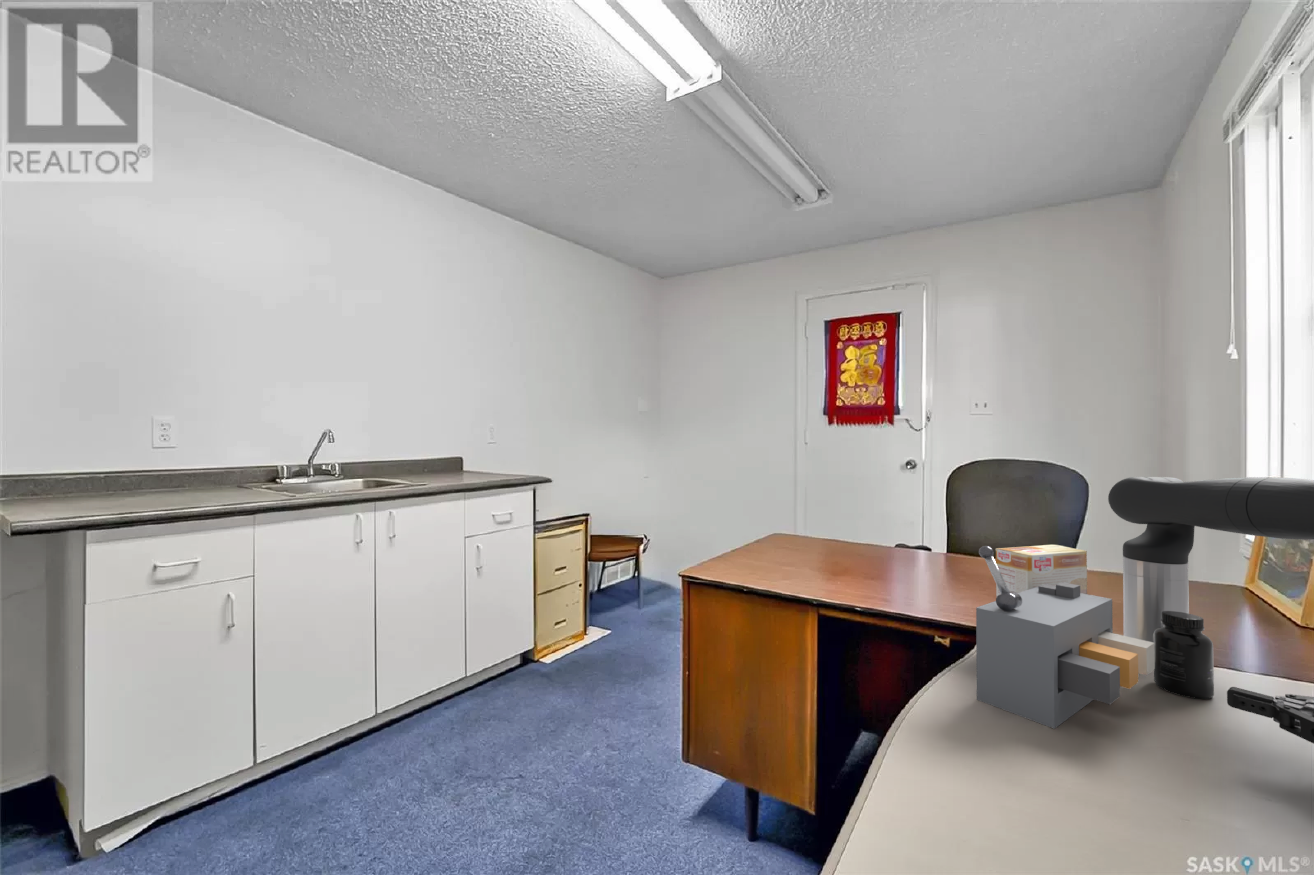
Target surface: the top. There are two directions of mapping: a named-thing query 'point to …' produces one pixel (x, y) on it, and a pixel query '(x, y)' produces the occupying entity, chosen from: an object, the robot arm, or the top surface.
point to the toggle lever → (1000, 582)
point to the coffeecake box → (1041, 567)
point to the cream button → (1131, 649)
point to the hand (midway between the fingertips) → (1228, 695)
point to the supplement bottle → (1183, 656)
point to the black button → (1089, 677)
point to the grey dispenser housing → (1036, 650)
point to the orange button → (1113, 660)
